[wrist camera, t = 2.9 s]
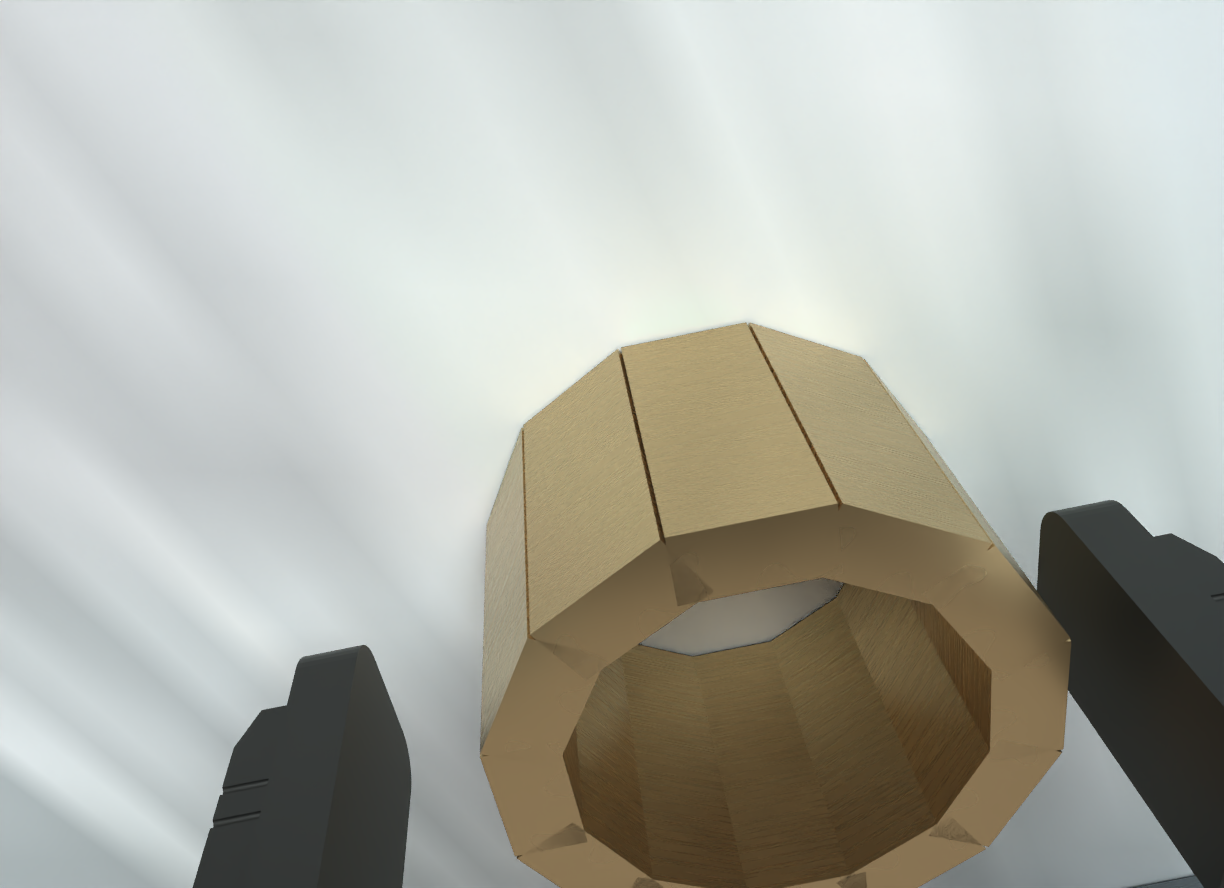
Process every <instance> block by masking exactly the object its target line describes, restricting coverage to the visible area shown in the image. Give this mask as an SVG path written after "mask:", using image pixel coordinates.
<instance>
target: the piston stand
mask: <svg viewBox="0 0 1224 888" xmlns="http://www.w3.org/2000/svg"><path fill="white" fill-rule="evenodd" d="M1135 888H1204V887H1203V886H1202V884H1201V883H1200V881H1199V880H1198V878H1197V877H1196V876H1192V877H1187V878H1182V879H1177V880H1171V881H1166V882H1161V883H1156V884H1151V885H1145V886H1140V887H1135Z"/></svg>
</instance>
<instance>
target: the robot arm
mask: <svg viewBox="0 0 1224 888" xmlns="http://www.w3.org/2000/svg"><path fill="white" fill-rule="evenodd" d="M1037 592H1038V593H1039V595H1040V596H1041V598H1042V599H1043V600H1044V602H1045V603H1046V604H1047V606H1048V607H1049V609H1050V610H1051V611H1052V613H1053V614H1054V616H1055V617H1056V618H1057V620H1058V621H1059V623H1060V624H1061V625H1062V627H1063V628H1064V630H1065V631H1066V632H1067V634H1068V635H1069V637H1070V640H1071V653H1070V667H1069V680H1068V691H1069V692H1070V693H1071V695H1072V696H1073V698H1074V699H1075V701H1076V702H1077V704H1078V705H1079V707H1080V708H1081V709H1082V711H1083V712H1084V714H1085V715H1086V717H1087V718H1088V720H1089V721H1090V723H1091V724H1092V726H1093V727H1094V728H1095V730H1096V731H1097V733H1098V734H1099V736H1100V737H1101V739H1102V740H1103V742H1104V743H1105V744H1106V746H1107V747H1108V749H1109V750H1110V752H1111V753H1112V755H1113V756H1114V758H1115V759H1116V760H1117V762H1118V763H1119V765H1120V766H1121V768H1122V769H1123V771H1124V772H1125V774H1126V775H1127V776H1128V778H1129V779H1130V781H1131V782H1132V784H1133V785H1134V787H1135V788H1136V790H1137V791H1138V793H1139V794H1140V795H1141V797H1142V798H1143V800H1144V801H1145V803H1146V804H1147V806H1148V807H1149V809H1150V810H1151V811H1152V813H1153V814H1154V816H1155V817H1156V819H1157V820H1158V822H1159V823H1160V825H1161V826H1162V827H1163V829H1164V830H1165V832H1166V833H1167V835H1168V836H1169V838H1170V839H1171V841H1172V842H1173V844H1174V845H1175V846H1176V848H1177V849H1178V851H1179V852H1180V854H1181V855H1182V857H1183V858H1184V860H1185V861H1186V862H1187V864H1188V865H1189V867H1190V868H1191V870H1192V871H1193V873H1194V874H1195V876H1196V877H1197V878H1198V880H1199V881H1200V883H1201V884H1202V886H1203V887H1204V888H1224V563H1223V562H1222V561H1221V560H1219V559H1218V558H1217V557H1216V556H1214V555H1212V554H1210V553H1208V552H1206V551H1204V550H1202V549H1201V548H1199V547H1197V546H1195V545H1193V544H1191V543H1189V542H1187V541H1185V540H1183V539H1181V538H1179V537H1177V536H1175V535H1173V534H1166V535H1161V536H1156V537H1153V536H1152V535H1151V534H1150V533H1149V532H1148V531H1147V530H1146V529H1145V528H1144V527H1143V526H1142V525H1141V524H1140V523H1139V522H1138V521H1137V519H1136V518H1135V517H1134V516H1133V515H1132V514H1131V513H1130V512H1129V511H1128V510H1127V509H1126V508H1125V507H1124V506H1123V505H1122V504H1120V503H1119V502H1117V501H1114V500H1108V501H1103V502H1098V503H1093V504H1088V505H1082V506H1077V507H1072V508H1067V509H1062V510H1057V511H1052V512H1048V513H1046V515H1045V516H1044V517H1043V520H1042V523H1041V530H1040V546H1039V563H1038V580H1037ZM222 788H223V795H220V797H219V800H218V804H217V807H216V810H215V814H214V817H213V823H214V826H213V828H211V829H210V831H209V834H208V838H207V841H206V844H205V848H204V851H203V854H202V858H201V861H200V865H199V868H198V871H197V875H196V878H195V882H194V885H193V888H402V883H403V872H404V861H405V850H406V839H407V829H408V818H409V807H410V796H411V768H410V760H409V753H408V748H407V744H406V740H405V737H404V734H403V731H402V728H401V726H400V723H399V721H398V718H397V715H396V713H395V710H394V708H393V705H392V702H391V700H390V697H389V695H388V692H387V690H386V687H385V684H384V682H383V679H382V677H381V674H380V671H379V669H378V666H377V664H376V661H375V659H374V656H373V654H372V652H371V650H370V649H369V648H368V647H367V646H366V645H361V646H356V647H351V648H346V649H341V650H336V651H330V652H325V653H320V654H315V655H310V656H305V657H302V658H301V659H300V660H299V662H298V664H297V667H296V671H295V675H294V679H293V683H292V687H291V691H290V695H289V699H288V703H287V705H286V706H281V707H276V708H271V709H266V710H262V711H261V712H260V713H259V715H258V716H257V717H256V719H255V720H254V721H253V723H252V724H251V726H250V727H249V728H248V730H247V731H246V732H245V734H244V735H243V736H242V738H241V739H240V740H239V742H238V743H237V744H236V746H235V747H234V749H233V753H232V756H231V759H230V763H229V766H228V770H227V773H226V776H225V780H224V783H223V787H222Z"/></svg>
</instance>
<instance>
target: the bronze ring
mask: <svg viewBox="0 0 1224 888" xmlns="http://www.w3.org/2000/svg"><path fill="white" fill-rule="evenodd" d="M621 350H622V353H621V352H620V351H619V350H618V349H617V350H616V351H615V352H613V353H612V354H611V355H610V356H609V357H607V358H606V359H605V360H604V361H602V362H601V363H600V364H599V365H597V366H596V367H595V368H594V369H592V370H591V371H590V372H589V373H587V374H586V375H585V376H584V377H582V378H581V379H580V380H579V381H578V382H576V383H575V384H574V385H573V386H571V387H570V388H569V389H568V390H566V391H565V392H564V393H563V394H561V395H560V396H559V397H558V398H556V399H555V400H554V401H553V402H552V403H550V404H549V405H548V406H547V407H545V408H544V409H543V410H542V411H540V412H539V413H538V414H537V415H535V416H534V417H533V418H532V419H530V420H529V421H528V422H527V423H525V424H524V428H521V431H520V434H519V436H518V439H517V442H516V445H515V448H514V450H513V453H512V456H511V459H510V462H509V464H508V467H507V470H506V473H505V476H504V478H503V481H502V484H501V487H500V489H499V492H498V495H497V498H496V501H495V503H494V506H493V509H492V512H491V515H490V517H489V520H488V523H487V533H486V568H485V603H484V638H483V673H482V708H481V742H480V758H481V761H482V764H483V767H484V770H485V773H486V775H487V778H488V781H489V784H490V787H491V790H492V792H493V795H494V798H495V801H496V804H497V807H498V809H499V812H500V815H501V818H502V821H503V824H504V827H505V829H506V832H507V835H508V838H509V841H510V844H511V846H512V849H513V852H514V855H515V856H517V859H518V860H520V861H521V862H523V863H524V864H526V865H527V866H529V867H530V868H532V869H533V870H535V871H536V872H538V873H539V874H541V875H542V876H544V877H545V878H547V879H548V880H550V881H551V882H553V883H554V884H556V885H557V886H559V887H560V888H918V887H919V886H921V885H923V884H925V883H927V882H928V881H930V880H932V879H934V878H935V877H937V876H939V875H941V874H943V873H944V872H946V871H948V870H950V869H951V868H953V867H955V866H957V865H958V864H960V863H962V862H964V861H966V860H967V859H969V858H971V857H973V856H974V855H976V854H978V853H980V852H982V851H983V850H985V849H986V848H985V846H988V847H989V846H990V844H991V843H992V842H993V840H994V839H995V838H996V837H997V835H998V834H999V833H1000V831H1001V830H1002V829H1003V828H1004V826H1005V825H1006V824H1007V822H1008V821H1009V820H1010V819H1011V817H1012V816H1013V815H1014V813H1015V812H1016V811H1017V810H1018V808H1019V807H1020V806H1021V804H1022V803H1023V802H1024V801H1025V799H1026V798H1027V797H1028V795H1029V794H1030V793H1031V792H1032V790H1033V789H1034V788H1035V786H1036V785H1037V784H1038V783H1039V781H1040V780H1041V779H1042V777H1043V776H1044V775H1045V774H1046V772H1047V771H1048V770H1049V768H1050V767H1051V766H1052V765H1053V763H1054V762H1055V761H1056V759H1057V758H1058V757H1059V756H1060V754H1061V753H1062V751H1061V750H1062V749H1063V747H1064V733H1065V720H1066V707H1067V693H1068V680H1069V667H1070V653H1071V640H1070V637H1069V635H1068V634H1067V632H1066V631H1065V630H1064V628H1063V627H1062V625H1061V624H1060V623H1059V621H1058V620H1057V618H1056V617H1055V616H1054V614H1053V613H1052V611H1051V610H1050V609H1049V607H1048V606H1047V604H1046V603H1045V602H1044V600H1043V599H1042V598H1041V596H1040V595H1039V593H1038V592H1037V591H1036V589H1035V588H1034V586H1033V585H1032V584H1031V582H1030V581H1029V579H1028V578H1027V577H1026V575H1025V574H1024V572H1023V571H1022V570H1021V568H1020V567H1019V565H1018V564H1017V563H1016V561H1015V560H1014V558H1013V557H1012V556H1011V554H1010V553H1009V551H1008V550H1007V549H1006V547H1005V546H1004V544H1003V543H1002V542H1001V540H1000V539H999V537H998V536H997V535H996V533H995V532H994V530H993V529H992V528H991V526H990V525H989V523H988V522H987V521H986V519H985V518H984V516H983V515H982V514H981V512H980V511H979V509H978V508H977V507H976V505H975V504H974V502H973V501H972V500H971V498H970V497H969V496H968V494H967V493H966V491H965V490H964V489H963V487H962V486H961V484H960V483H959V482H958V480H957V479H956V477H955V476H954V475H953V473H952V472H951V470H950V469H949V468H948V466H947V465H946V463H945V462H944V461H943V459H942V458H941V456H940V455H939V454H938V452H937V451H936V449H935V448H934V447H933V445H932V444H931V442H930V441H929V440H928V438H927V437H926V436H925V434H924V433H923V432H922V431H921V429H920V428H919V427H918V426H917V424H916V423H915V422H914V421H913V419H912V418H911V417H910V416H909V414H908V413H907V412H906V411H905V409H904V408H903V407H902V406H901V404H900V403H899V402H898V401H897V399H896V398H895V397H894V396H893V394H892V393H891V392H890V391H889V389H888V388H887V387H886V386H885V384H884V383H883V382H882V381H881V379H880V378H879V377H878V376H877V374H876V373H875V372H874V371H873V369H872V368H871V367H870V366H869V364H868V363H867V362H866V361H865V359H864V360H863V359H862V357H859V356H856V355H853V354H849V353H846V352H843V351H840V350H837V349H833V348H830V347H827V346H824V345H820V344H817V343H814V342H811V341H808V340H804V339H801V338H798V337H795V336H791V335H788V334H785V333H782V332H779V331H775V330H772V329H769V328H766V327H762V326H759V325H756V324H753V323H749V325H747V323H741V324H736V325H731V326H726V327H721V328H716V329H711V330H706V331H701V332H696V333H691V334H686V335H681V336H676V337H671V338H666V339H661V340H656V341H651V342H646V343H641V344H637V345H632V346H627V347H622V348H621ZM818 578H827V579H831V580H835V581H839V582H843V583H845V584H844V585H843V587H842V589H841V590H840V592H839V594H838V596H837V597H836V598H835V599H834V600H832V601H831V602H829V603H828V604H826V605H825V606H823V607H822V608H820V609H819V610H817V611H816V612H814V613H813V614H811V615H810V616H808V617H807V618H805V619H804V620H802V621H801V622H799V623H798V624H796V625H795V626H793V627H792V628H790V629H789V630H787V631H786V632H784V633H783V634H781V635H780V636H778V637H777V638H775V639H774V640H772V641H770V642H765V643H760V644H755V645H750V646H745V647H740V648H735V649H730V650H725V651H720V652H714V653H709V654H704V655H699V656H694V657H692V656H688V655H683V654H679V653H674V652H669V651H665V650H660V649H656V648H651V647H646V646H642V645H638V644H639V643H640V642H642V641H643V640H645V639H646V638H648V637H649V636H650V635H652V634H653V633H655V632H656V631H658V630H659V629H660V628H662V627H663V626H665V625H666V624H668V623H669V622H670V621H672V620H673V619H675V618H676V617H678V616H679V615H680V614H682V613H683V612H685V611H686V610H688V609H689V608H690V607H692V606H693V605H695V604H696V603H698V602H702V601H707V600H712V599H717V598H722V597H727V596H732V595H738V594H743V593H748V592H753V591H758V590H763V589H768V588H773V587H778V586H783V585H788V584H793V583H798V582H803V581H808V580H813V579H818Z"/></svg>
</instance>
